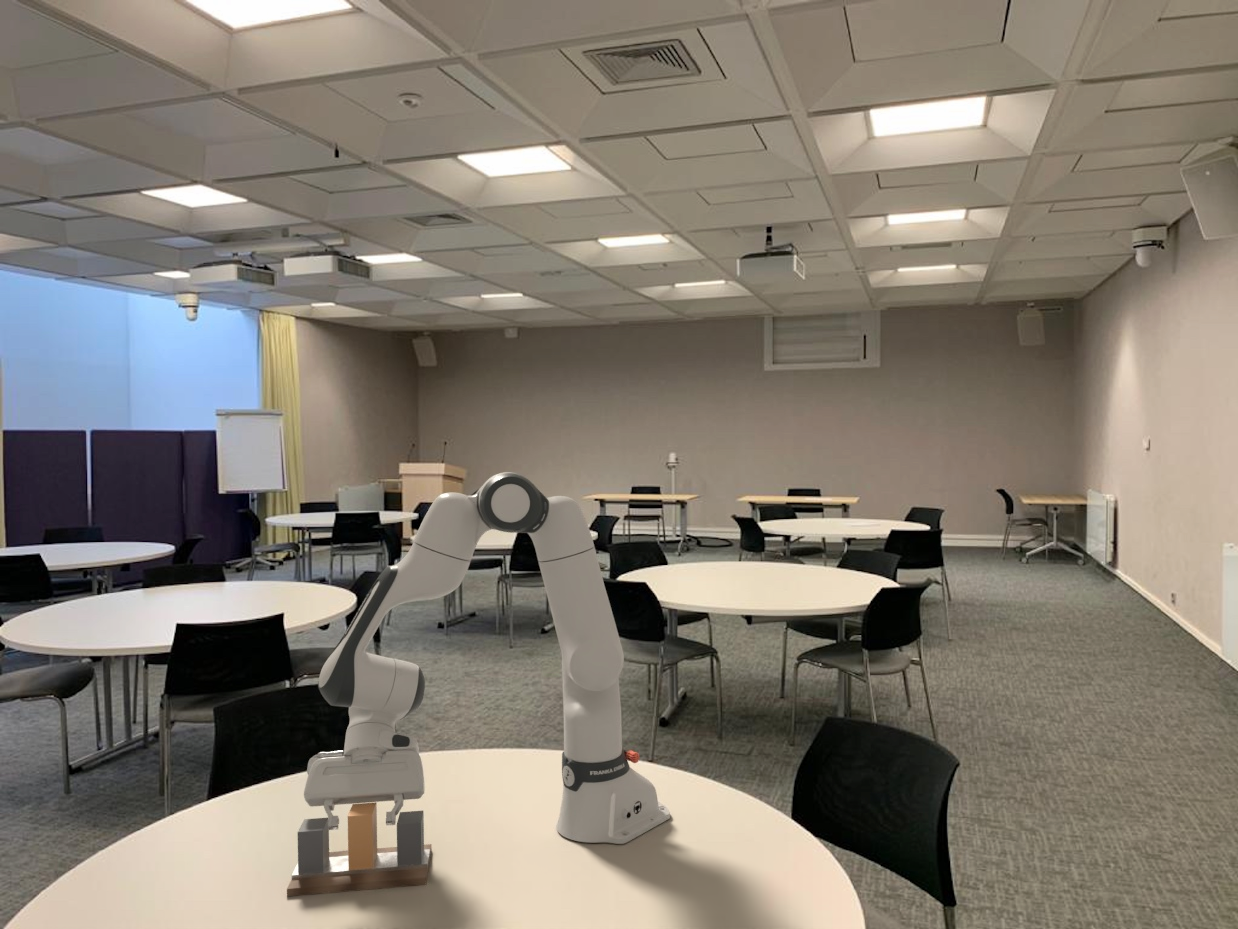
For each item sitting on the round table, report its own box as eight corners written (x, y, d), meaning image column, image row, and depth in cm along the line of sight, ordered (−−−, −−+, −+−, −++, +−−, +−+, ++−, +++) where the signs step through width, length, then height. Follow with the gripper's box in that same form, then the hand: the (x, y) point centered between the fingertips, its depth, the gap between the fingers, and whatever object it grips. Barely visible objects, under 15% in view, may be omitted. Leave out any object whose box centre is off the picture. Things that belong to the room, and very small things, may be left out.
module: (377, 854, 145) (376, 802, 145) (373, 868, 141) (372, 814, 140) (353, 855, 145) (352, 804, 145) (348, 870, 140) (347, 816, 140)
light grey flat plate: (430, 852, 147) (430, 849, 147) (427, 867, 142) (427, 864, 142) (299, 863, 144) (299, 859, 144) (291, 879, 138) (291, 875, 138)
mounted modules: (424, 850, 147) (423, 810, 147) (421, 864, 142) (420, 822, 142) (305, 859, 144) (304, 819, 144) (298, 874, 139) (297, 832, 139)
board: (431, 850, 150) (431, 844, 150) (426, 884, 138) (425, 877, 138) (303, 861, 147) (303, 854, 147) (286, 896, 135) (286, 889, 135)
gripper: (306, 744, 148) (294, 823, 138) (424, 737, 151) (421, 814, 141) (312, 761, 152) (301, 838, 143) (427, 753, 155) (423, 829, 146)
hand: (361, 826), depth 142 cm, fingers open, 8 cm apart
